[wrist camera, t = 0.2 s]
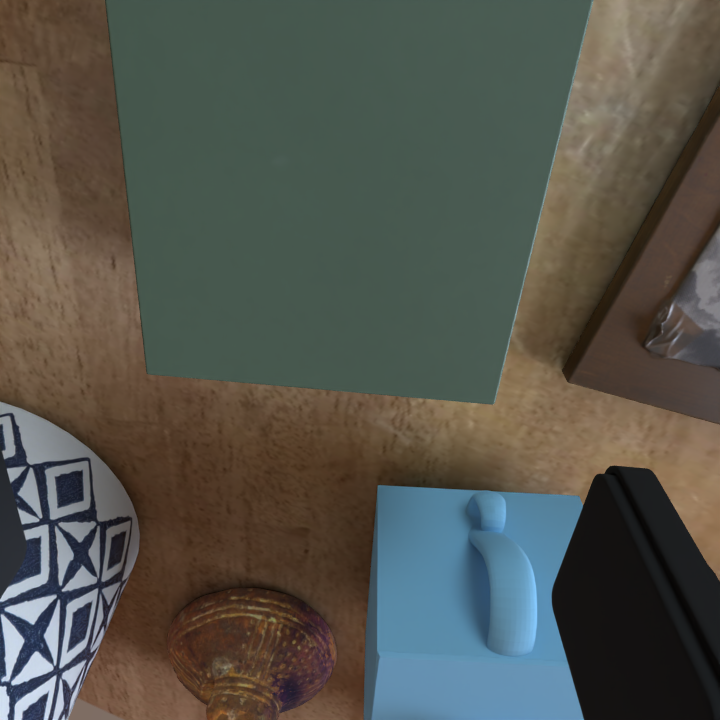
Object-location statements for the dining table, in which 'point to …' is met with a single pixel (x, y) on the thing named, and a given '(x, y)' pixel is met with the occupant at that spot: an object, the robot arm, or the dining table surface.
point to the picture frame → (665, 296)
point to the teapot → (467, 606)
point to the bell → (251, 653)
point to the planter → (59, 565)
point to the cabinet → (338, 184)
